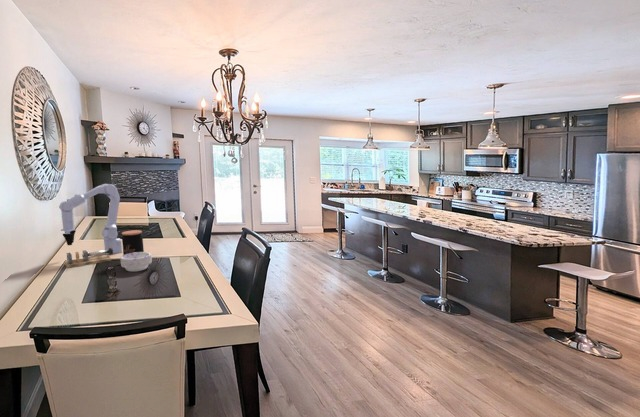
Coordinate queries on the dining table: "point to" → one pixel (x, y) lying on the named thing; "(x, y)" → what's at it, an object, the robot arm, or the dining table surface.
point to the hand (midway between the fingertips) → (70, 243)
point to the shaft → (100, 252)
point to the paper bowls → (136, 261)
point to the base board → (91, 261)
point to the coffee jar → (132, 241)
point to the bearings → (77, 257)
